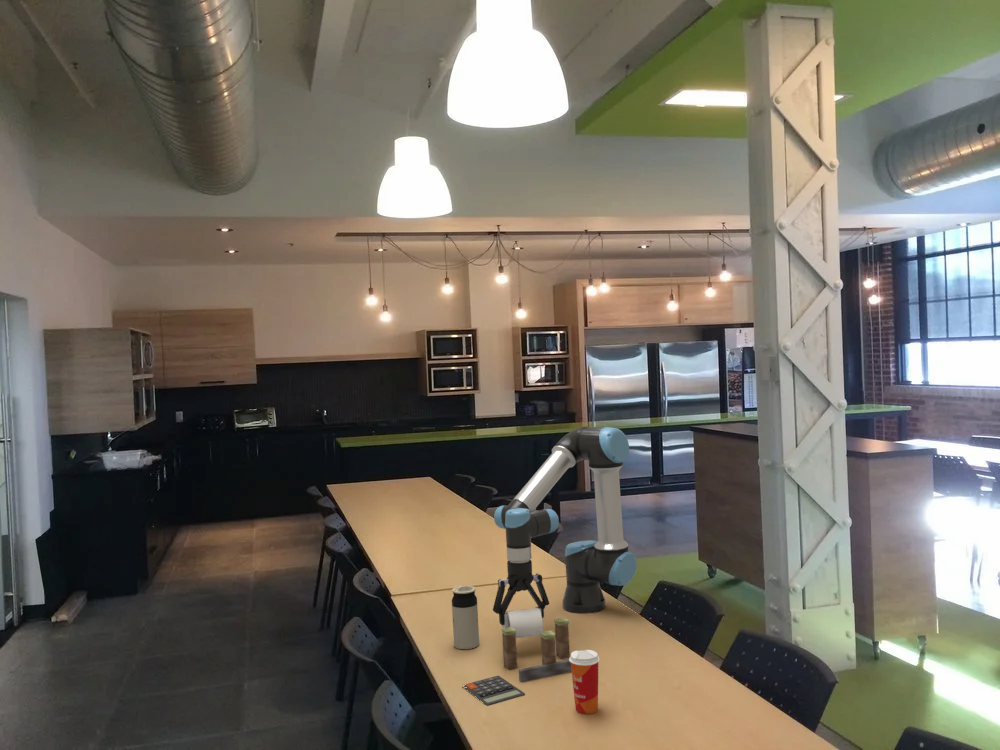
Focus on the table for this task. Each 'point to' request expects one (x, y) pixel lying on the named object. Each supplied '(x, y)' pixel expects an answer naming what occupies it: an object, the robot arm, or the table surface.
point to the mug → (525, 622)
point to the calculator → (493, 690)
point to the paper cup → (585, 680)
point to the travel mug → (465, 617)
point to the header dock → (547, 649)
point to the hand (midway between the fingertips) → (522, 631)
